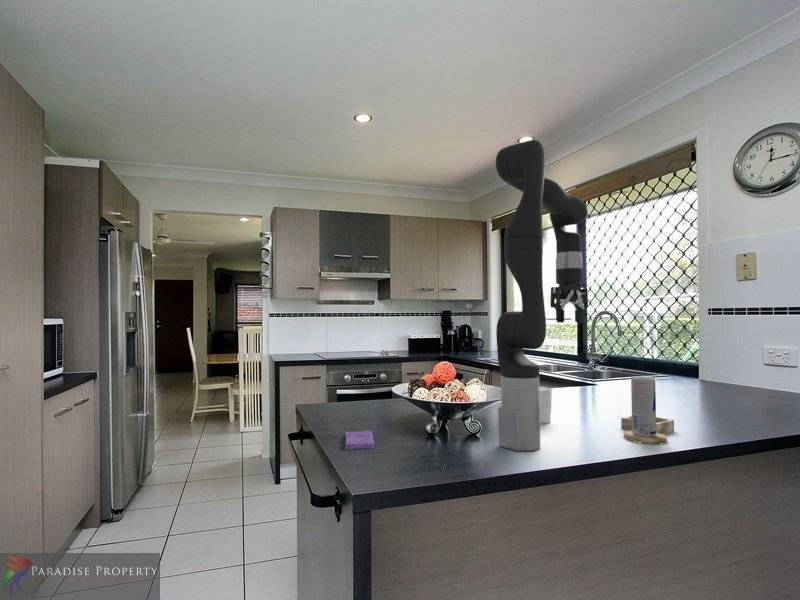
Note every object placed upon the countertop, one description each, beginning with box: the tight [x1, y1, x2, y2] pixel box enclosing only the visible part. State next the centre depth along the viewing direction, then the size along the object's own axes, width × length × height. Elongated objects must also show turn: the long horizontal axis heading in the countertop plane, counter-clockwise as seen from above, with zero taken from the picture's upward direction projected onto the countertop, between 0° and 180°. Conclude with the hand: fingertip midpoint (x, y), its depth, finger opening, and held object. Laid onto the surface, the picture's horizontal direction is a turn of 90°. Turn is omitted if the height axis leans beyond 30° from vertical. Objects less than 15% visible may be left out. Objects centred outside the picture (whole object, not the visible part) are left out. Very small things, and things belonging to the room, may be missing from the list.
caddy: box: [620, 415, 675, 435], centre depth 131 cm, size 10×10×3 cm
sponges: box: [345, 430, 375, 450], centre depth 120 cm, size 7×13×2 cm, turn 6°
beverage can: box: [630, 375, 657, 437], centre depth 122 cm, size 6×6×15 cm
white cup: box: [539, 386, 553, 425], centre depth 143 cm, size 8×8×10 cm
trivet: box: [623, 430, 668, 445], centre depth 122 cm, size 10×10×1 cm
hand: (569, 322), depth 139 cm, fingers open, 8 cm apart
